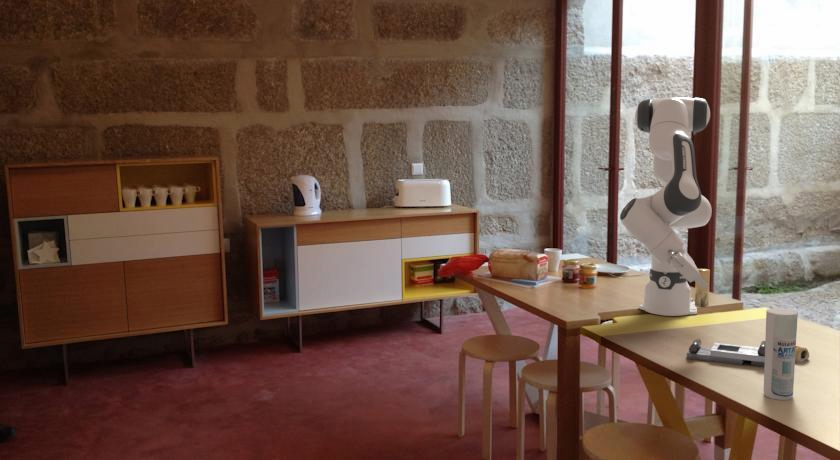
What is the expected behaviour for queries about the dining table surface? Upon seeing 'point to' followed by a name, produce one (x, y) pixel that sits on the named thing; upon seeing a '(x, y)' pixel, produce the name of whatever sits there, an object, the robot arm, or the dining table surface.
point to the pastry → (801, 354)
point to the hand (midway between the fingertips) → (705, 284)
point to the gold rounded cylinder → (702, 290)
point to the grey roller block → (728, 353)
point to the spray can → (780, 353)
